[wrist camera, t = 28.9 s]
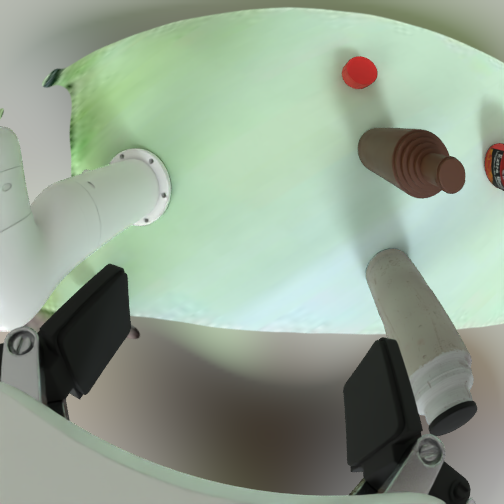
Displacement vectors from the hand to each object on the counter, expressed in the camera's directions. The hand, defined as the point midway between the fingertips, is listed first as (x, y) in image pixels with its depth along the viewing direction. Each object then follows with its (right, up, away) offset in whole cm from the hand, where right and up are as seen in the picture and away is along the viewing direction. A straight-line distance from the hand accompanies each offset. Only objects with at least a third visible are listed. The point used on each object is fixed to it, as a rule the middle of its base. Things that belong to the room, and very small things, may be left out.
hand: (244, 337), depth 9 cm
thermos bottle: (+22, 0, +30) cm, 38 cm away
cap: (+14, +26, +19) cm, 35 cm away
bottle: (+18, +17, +23) cm, 33 cm away
